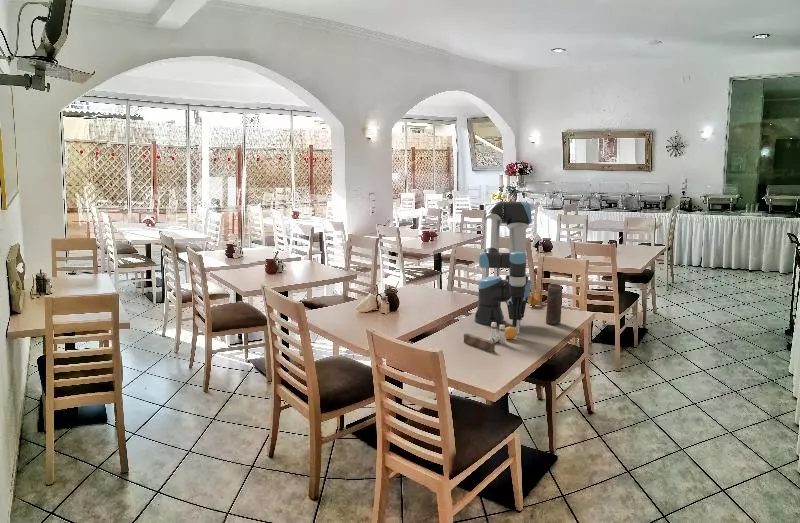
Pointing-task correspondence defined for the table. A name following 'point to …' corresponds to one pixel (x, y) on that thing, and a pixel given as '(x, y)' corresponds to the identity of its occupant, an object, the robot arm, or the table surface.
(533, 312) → the table surface
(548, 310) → the rusty brown cylinder
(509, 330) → the ball
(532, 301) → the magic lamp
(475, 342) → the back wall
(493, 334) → the pin
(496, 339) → the front pin
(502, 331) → the pin
